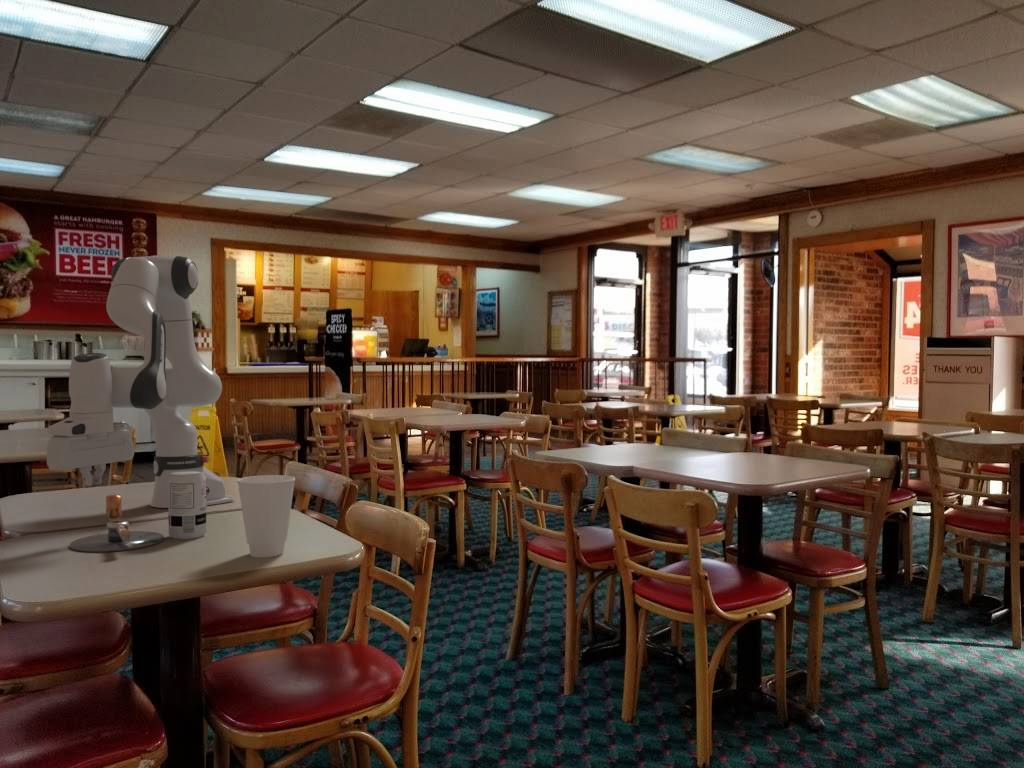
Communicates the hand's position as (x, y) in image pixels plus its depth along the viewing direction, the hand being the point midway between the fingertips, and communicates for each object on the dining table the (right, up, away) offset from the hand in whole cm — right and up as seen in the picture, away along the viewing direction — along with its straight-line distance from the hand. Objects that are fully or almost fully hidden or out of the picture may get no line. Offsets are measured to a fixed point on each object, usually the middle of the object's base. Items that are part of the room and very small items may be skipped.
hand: (93, 484), depth 185 cm
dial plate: (+7, -13, -2) cm, 15 cm away
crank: (+8, -10, -5) cm, 13 cm away
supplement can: (+20, -13, +5) cm, 24 cm away
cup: (+44, -13, -13) cm, 47 cm away
